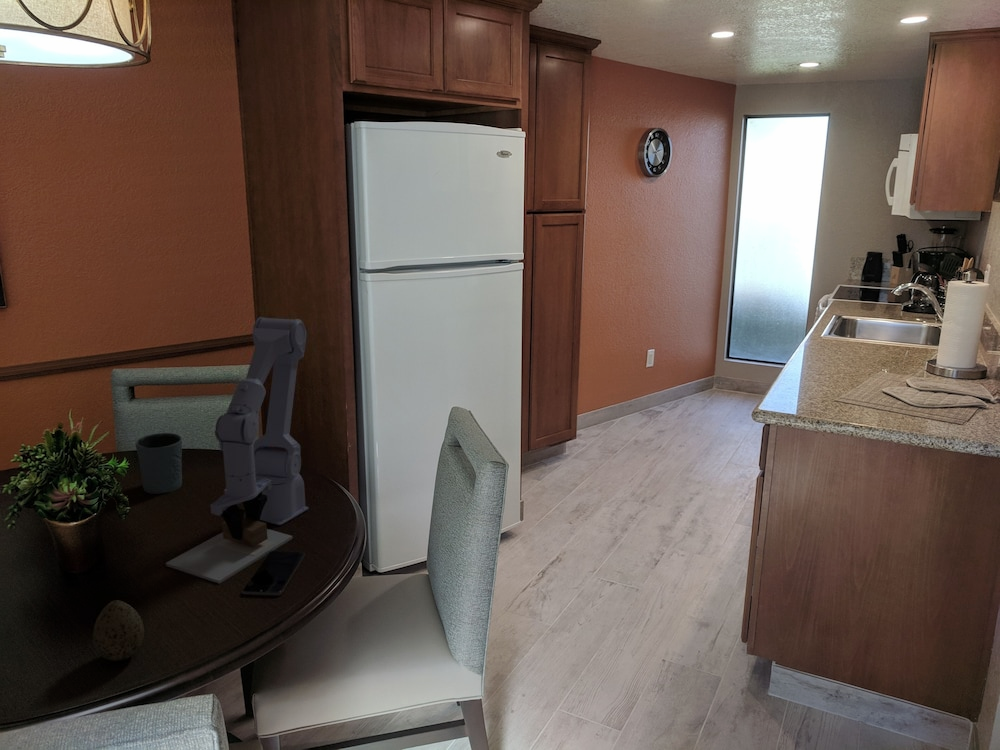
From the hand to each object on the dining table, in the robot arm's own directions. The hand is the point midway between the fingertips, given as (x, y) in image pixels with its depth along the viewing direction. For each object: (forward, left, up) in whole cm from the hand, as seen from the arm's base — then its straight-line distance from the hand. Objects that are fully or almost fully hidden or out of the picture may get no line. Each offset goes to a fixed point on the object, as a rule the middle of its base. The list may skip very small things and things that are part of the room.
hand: (245, 533), depth 153 cm
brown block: (0, 0, -1) cm, 1 cm away
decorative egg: (+36, +9, -3) cm, 37 cm away
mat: (+3, -1, -3) cm, 4 cm away
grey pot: (-13, -39, -3) cm, 41 cm away
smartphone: (+5, +13, -3) cm, 14 cm away
